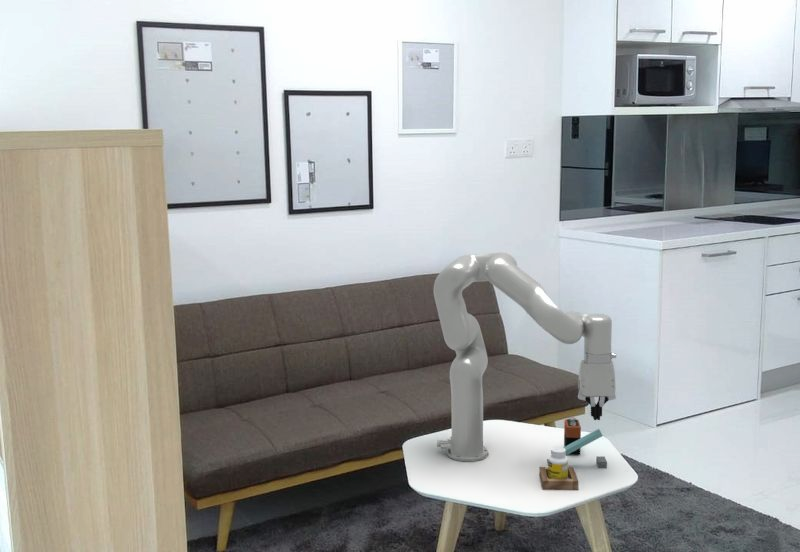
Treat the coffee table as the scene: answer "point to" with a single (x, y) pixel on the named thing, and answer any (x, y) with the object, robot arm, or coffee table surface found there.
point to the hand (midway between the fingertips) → (596, 418)
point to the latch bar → (583, 441)
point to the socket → (558, 480)
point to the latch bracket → (599, 462)
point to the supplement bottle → (558, 464)
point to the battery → (572, 433)
